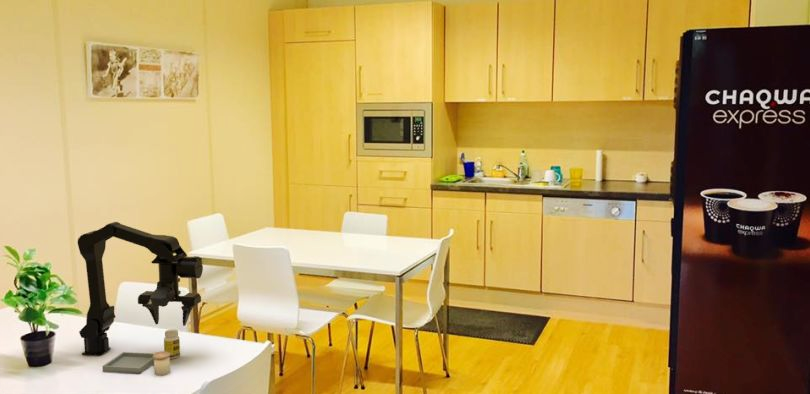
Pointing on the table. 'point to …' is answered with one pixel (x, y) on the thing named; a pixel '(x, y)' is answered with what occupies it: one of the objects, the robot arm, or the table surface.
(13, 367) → the table surface
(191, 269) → the robot arm
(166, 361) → the sugar jar
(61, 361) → the table surface
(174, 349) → the supplement bottle
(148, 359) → the tray
